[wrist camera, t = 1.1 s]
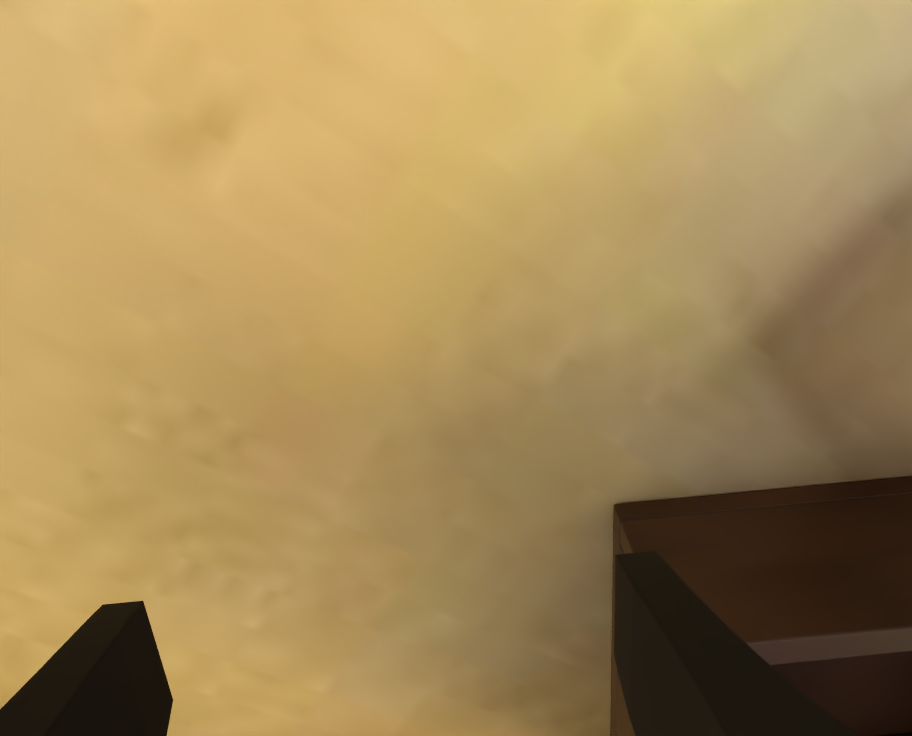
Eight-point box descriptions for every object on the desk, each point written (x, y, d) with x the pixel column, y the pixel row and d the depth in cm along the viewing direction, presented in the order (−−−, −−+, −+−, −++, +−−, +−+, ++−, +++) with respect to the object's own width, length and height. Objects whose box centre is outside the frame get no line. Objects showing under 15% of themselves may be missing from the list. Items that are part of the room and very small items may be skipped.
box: (1003, 467, 24) (1169, 601, 19) (937, 724, 29) (1058, 890, 23) (613, 503, 24) (672, 650, 19) (609, 758, 28) (657, 933, 23)
